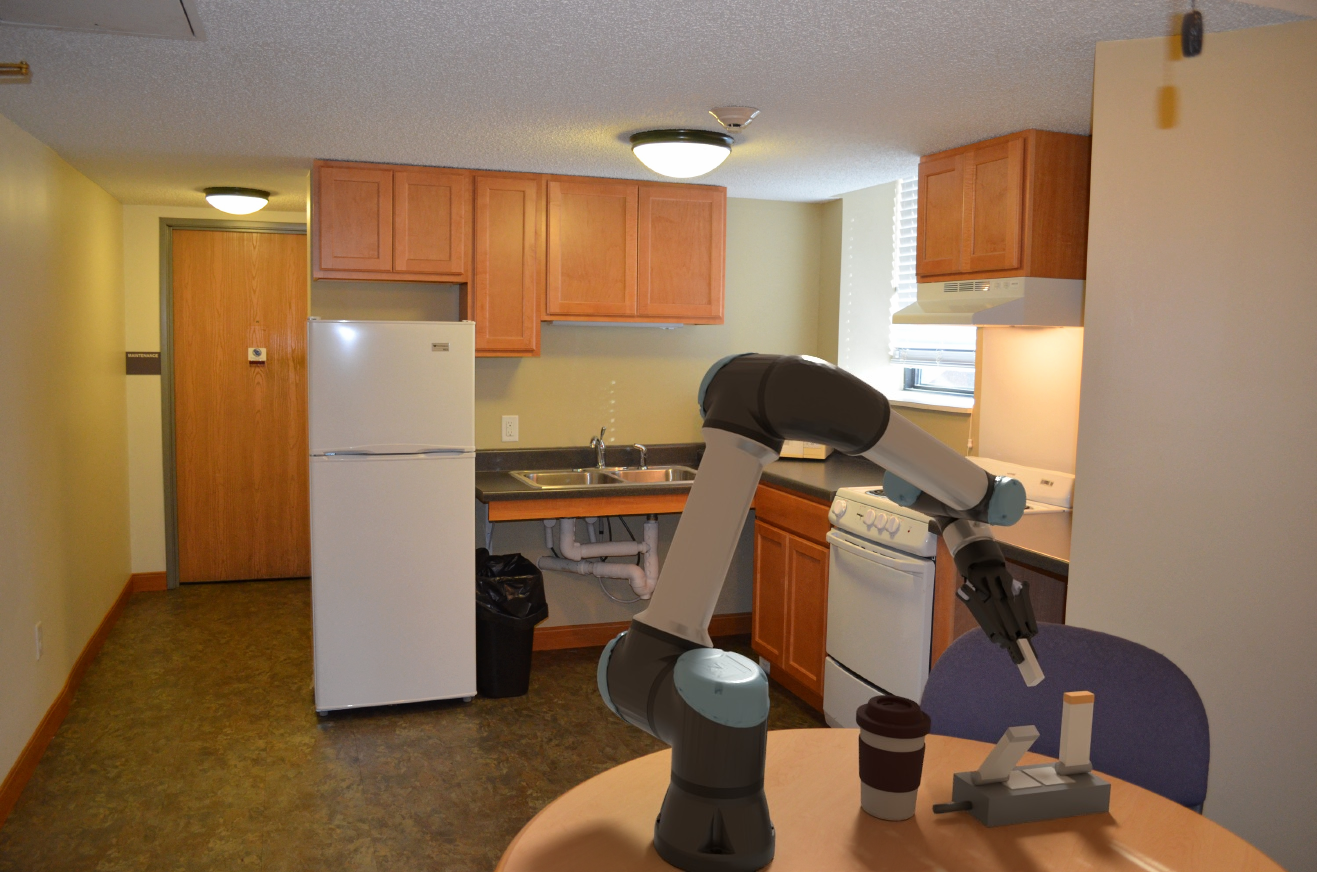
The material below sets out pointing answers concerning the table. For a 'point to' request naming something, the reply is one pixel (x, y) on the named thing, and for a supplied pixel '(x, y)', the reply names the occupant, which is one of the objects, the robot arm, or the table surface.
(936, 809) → the power strip
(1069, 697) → the orange-capped paddle
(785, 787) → the table surface
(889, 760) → the coffee cup
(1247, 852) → the table surface
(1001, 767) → the grey-capped paddle
